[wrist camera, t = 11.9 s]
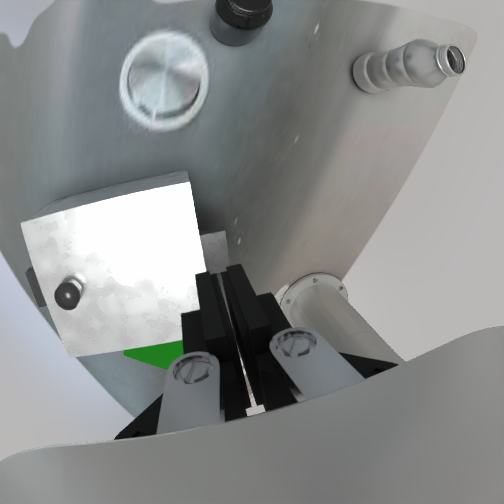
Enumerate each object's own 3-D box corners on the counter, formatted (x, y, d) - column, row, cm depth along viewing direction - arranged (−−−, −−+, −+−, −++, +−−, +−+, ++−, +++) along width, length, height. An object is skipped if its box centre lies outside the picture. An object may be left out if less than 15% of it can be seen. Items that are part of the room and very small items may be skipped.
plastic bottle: (342, 83, 43) (431, 68, 25) (353, 48, 41) (441, 21, 23) (375, 101, 45) (468, 99, 27) (385, 66, 43) (476, 53, 25)
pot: (227, 282, 50) (240, 319, 40) (73, 311, 46) (55, 352, 36) (208, 165, 43) (217, 176, 33) (38, 205, 39) (5, 226, 29)
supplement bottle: (246, 1, 35) (268, -35, 25) (264, 38, 38) (293, 12, 27) (201, 15, 35) (210, -21, 24) (219, 53, 38) (234, 28, 27)
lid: (217, 328, 39) (221, 341, 36) (71, 353, 36) (66, 366, 33) (189, 181, 33) (190, 184, 30) (24, 220, 30) (12, 227, 27)
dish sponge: (136, 315, 50) (135, 323, 47) (212, 341, 54) (214, 350, 52) (124, 346, 51) (122, 355, 49) (196, 370, 56) (197, 378, 54)
